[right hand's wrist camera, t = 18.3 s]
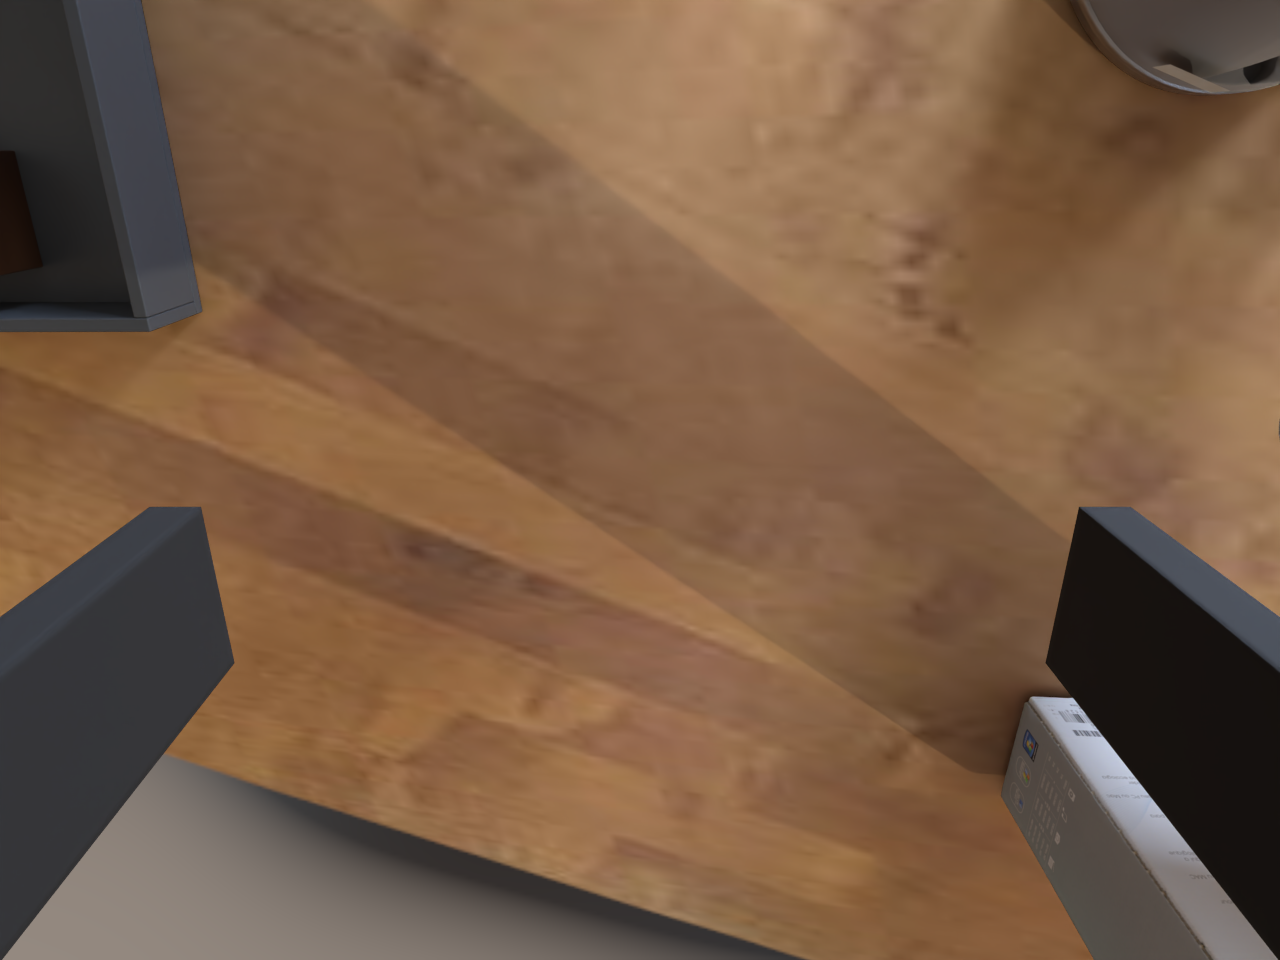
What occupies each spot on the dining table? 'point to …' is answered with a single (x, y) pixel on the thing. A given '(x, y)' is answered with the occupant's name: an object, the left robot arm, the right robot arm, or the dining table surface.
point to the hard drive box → (1115, 848)
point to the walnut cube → (15, 220)
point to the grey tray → (91, 171)
